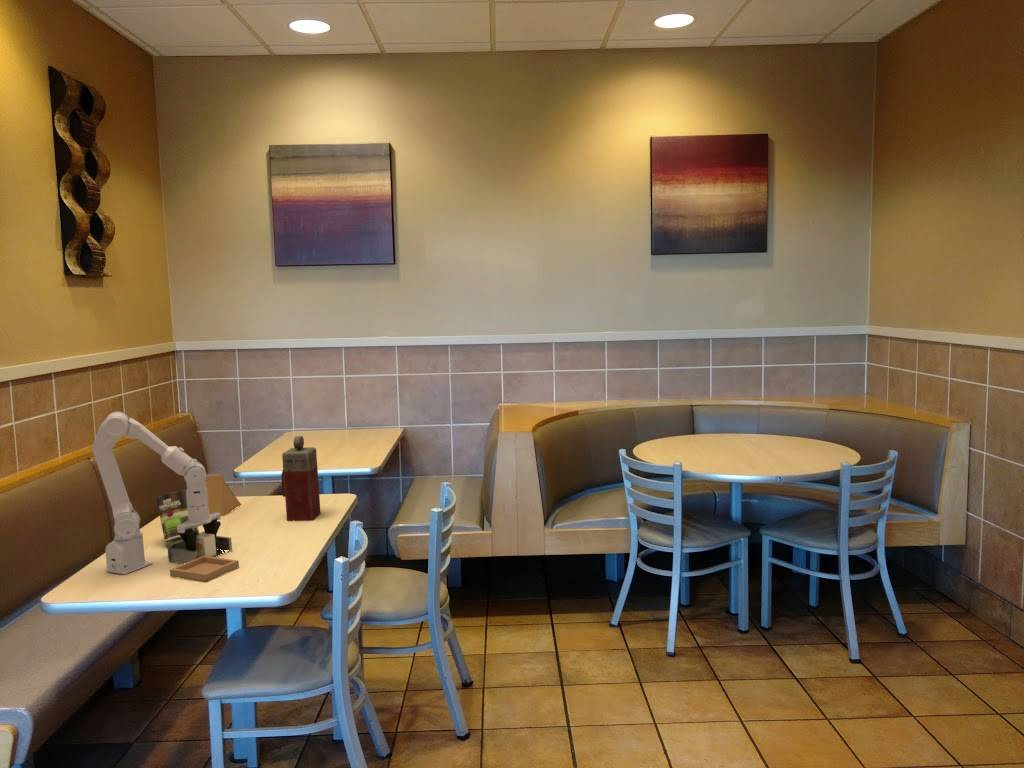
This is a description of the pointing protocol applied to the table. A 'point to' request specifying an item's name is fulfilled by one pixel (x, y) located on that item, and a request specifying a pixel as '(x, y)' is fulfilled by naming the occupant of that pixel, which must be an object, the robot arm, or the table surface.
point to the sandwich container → (220, 496)
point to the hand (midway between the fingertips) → (201, 550)
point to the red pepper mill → (300, 482)
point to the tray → (204, 568)
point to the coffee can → (172, 513)
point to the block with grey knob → (205, 544)
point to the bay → (182, 555)
